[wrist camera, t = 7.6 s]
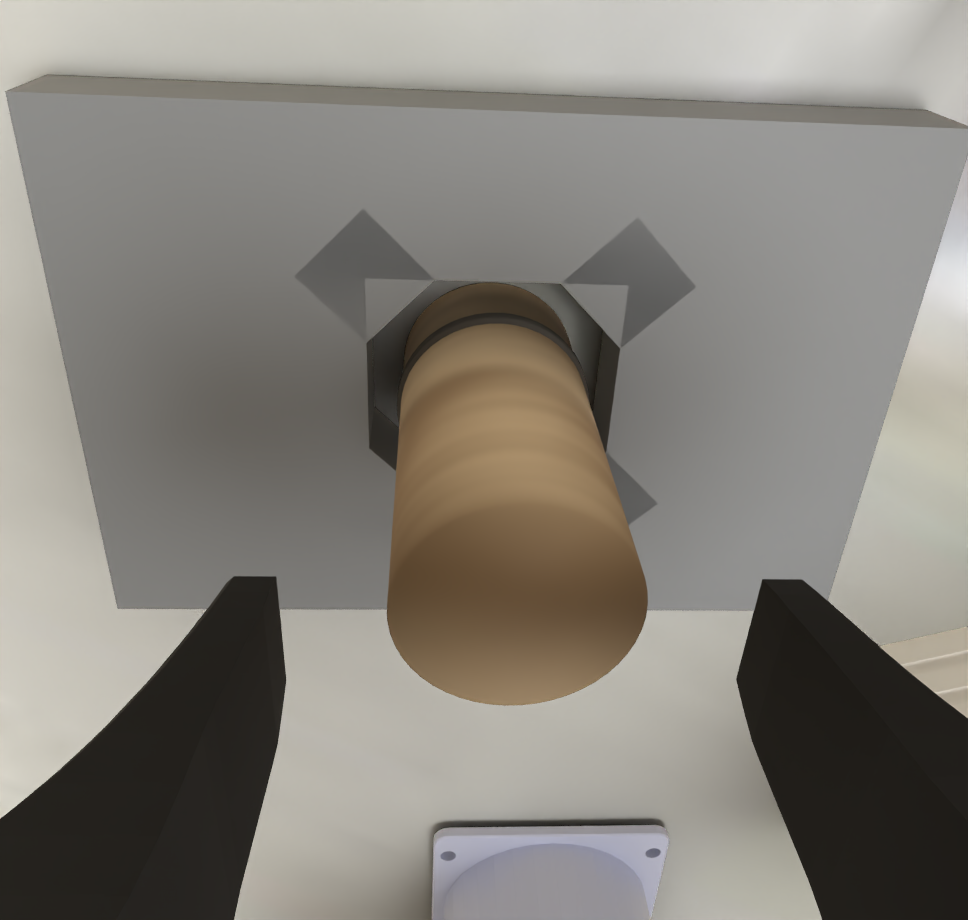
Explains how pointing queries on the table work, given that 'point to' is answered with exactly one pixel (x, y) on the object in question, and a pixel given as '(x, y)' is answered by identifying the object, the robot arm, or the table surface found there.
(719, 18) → the table surface
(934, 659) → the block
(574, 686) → the oak peg
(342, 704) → the table surface
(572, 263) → the slate board
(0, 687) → the table surface
